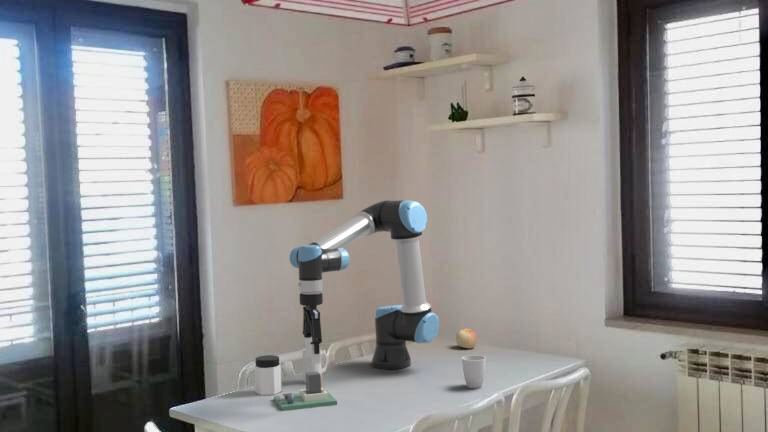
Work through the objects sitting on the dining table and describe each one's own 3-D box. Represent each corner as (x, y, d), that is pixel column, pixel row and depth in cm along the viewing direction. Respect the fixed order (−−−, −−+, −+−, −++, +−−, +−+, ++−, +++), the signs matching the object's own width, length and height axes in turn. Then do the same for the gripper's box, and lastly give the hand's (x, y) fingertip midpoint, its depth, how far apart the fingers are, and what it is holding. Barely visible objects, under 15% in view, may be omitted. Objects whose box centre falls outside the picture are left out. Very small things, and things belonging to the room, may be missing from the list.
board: (326, 393, 277) (326, 383, 277) (337, 404, 263) (336, 393, 263) (273, 399, 271) (273, 388, 271) (282, 410, 258) (281, 399, 258)
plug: (319, 395, 271) (319, 371, 270) (322, 398, 267) (322, 373, 267) (306, 396, 269) (305, 372, 269) (309, 399, 266) (308, 375, 265)
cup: (487, 384, 285) (487, 355, 284) (484, 390, 277) (483, 360, 276) (464, 382, 287) (464, 354, 286) (460, 388, 279) (460, 360, 279)
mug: (309, 385, 288) (308, 351, 288) (299, 381, 294) (298, 348, 293) (333, 380, 294) (332, 347, 294) (323, 377, 300) (322, 344, 299)
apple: (466, 345, 350) (465, 326, 350) (481, 348, 344) (481, 329, 343) (451, 348, 345) (451, 329, 344) (466, 351, 338) (466, 332, 338)
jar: (265, 388, 286) (264, 354, 286) (285, 390, 283) (284, 355, 282) (251, 394, 278) (249, 359, 278) (271, 396, 275) (270, 361, 274)
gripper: (292, 289, 276) (294, 354, 277) (307, 297, 255) (309, 368, 256) (314, 287, 278) (316, 352, 279) (330, 296, 257) (332, 366, 258)
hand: (312, 360), depth 268 cm, fingers open, 9 cm apart
